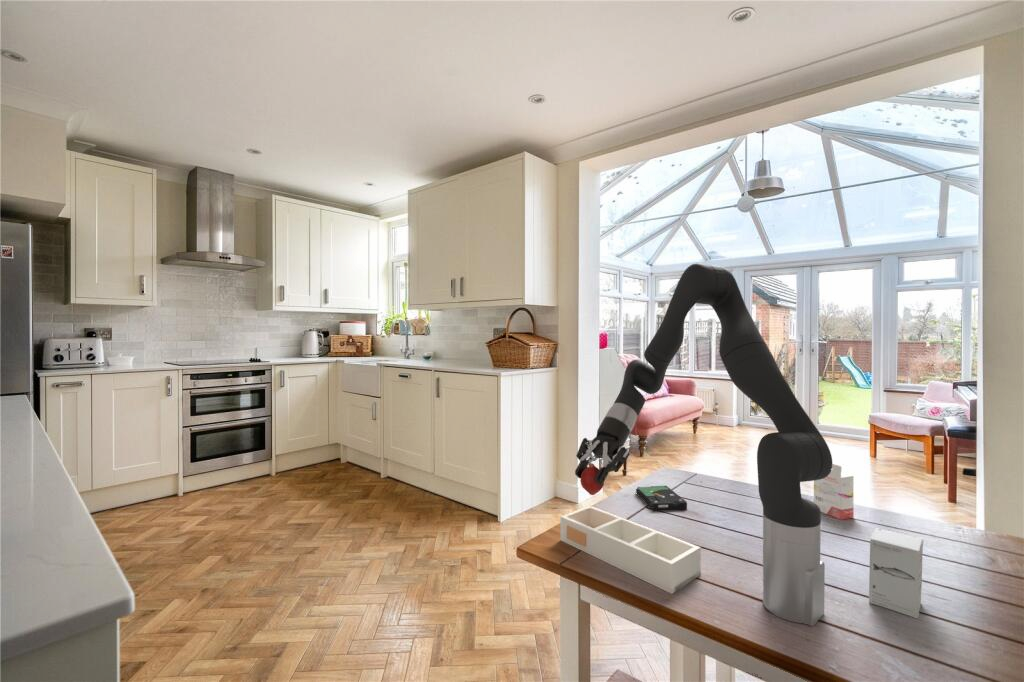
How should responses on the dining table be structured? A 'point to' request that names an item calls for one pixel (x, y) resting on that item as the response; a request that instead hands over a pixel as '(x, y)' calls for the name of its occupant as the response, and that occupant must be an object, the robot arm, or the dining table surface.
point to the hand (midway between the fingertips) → (587, 479)
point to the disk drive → (661, 498)
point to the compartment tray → (633, 547)
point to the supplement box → (896, 571)
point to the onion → (590, 480)
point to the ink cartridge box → (835, 494)
